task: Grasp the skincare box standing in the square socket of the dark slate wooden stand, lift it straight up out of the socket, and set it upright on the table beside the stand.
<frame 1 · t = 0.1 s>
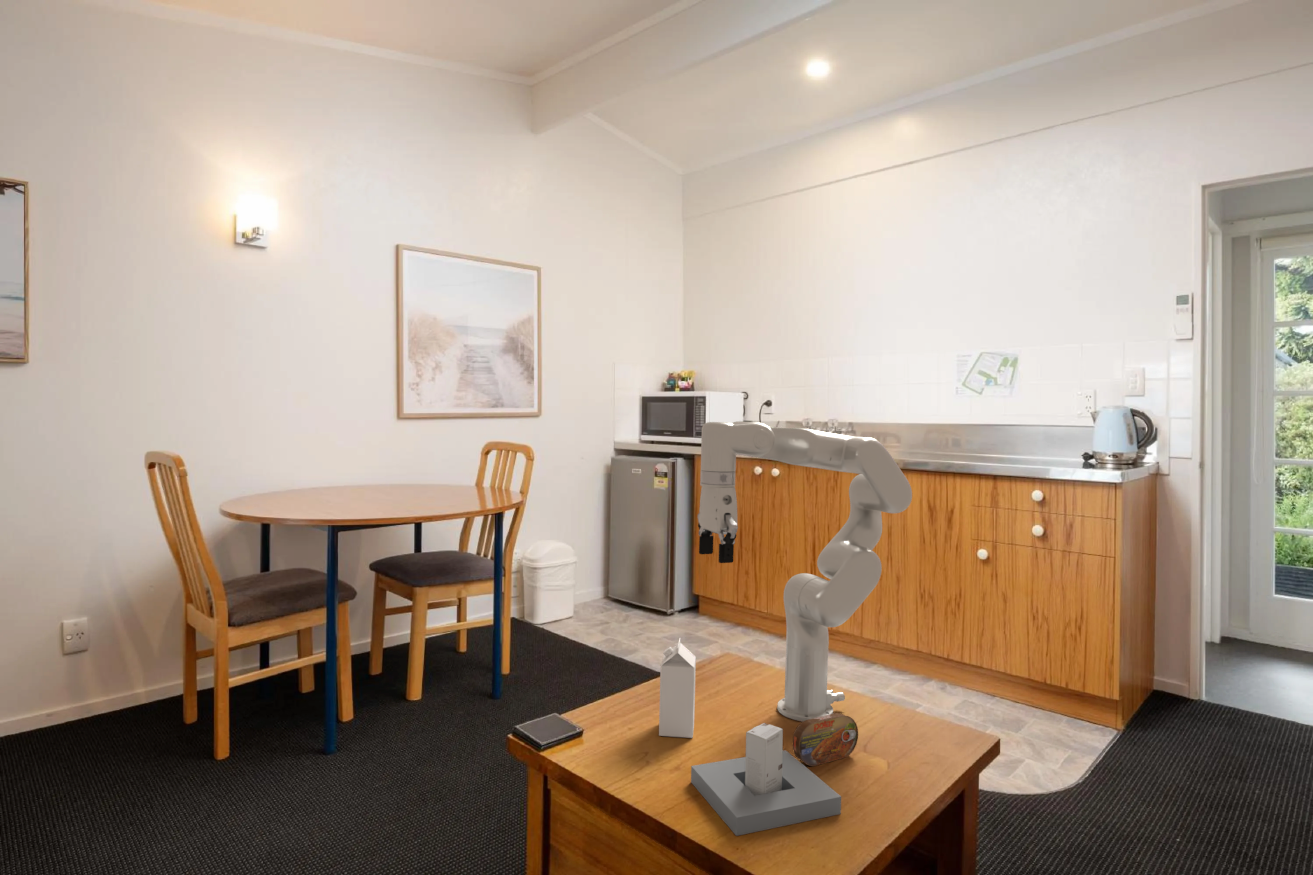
hand: (715, 558, 157), 37 cm above the table, tool pointing down, fingers open, 9 cm apart
skincare box: (763, 798, 128), resting in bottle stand
tin: (824, 759, 144), on the table
milk carton: (676, 731, 155), on the table
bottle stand: (763, 797, 128), on the table
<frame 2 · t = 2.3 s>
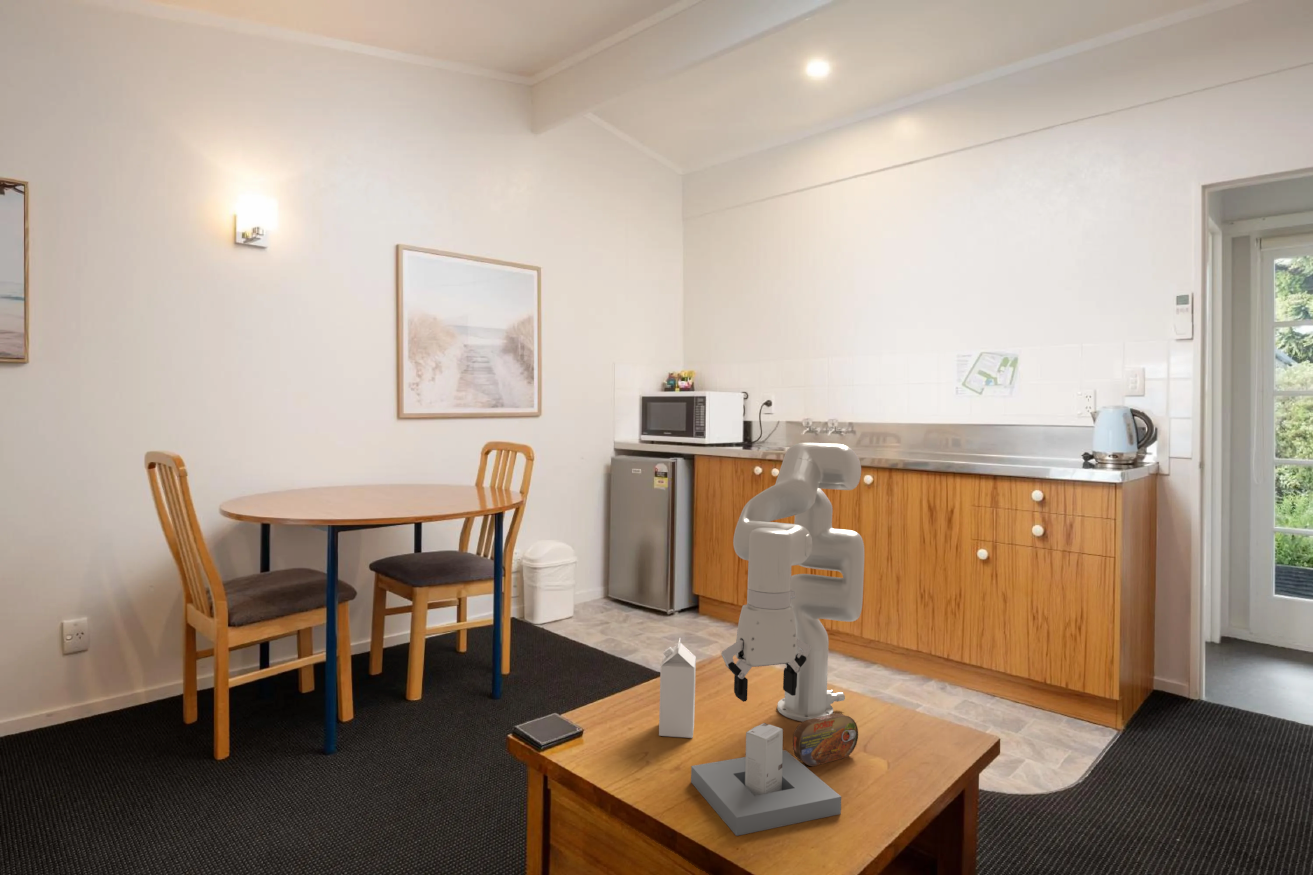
hand: (765, 695, 127), 18 cm above the table, tool pointing down, fingers open, 9 cm apart
nothing on the table moved.
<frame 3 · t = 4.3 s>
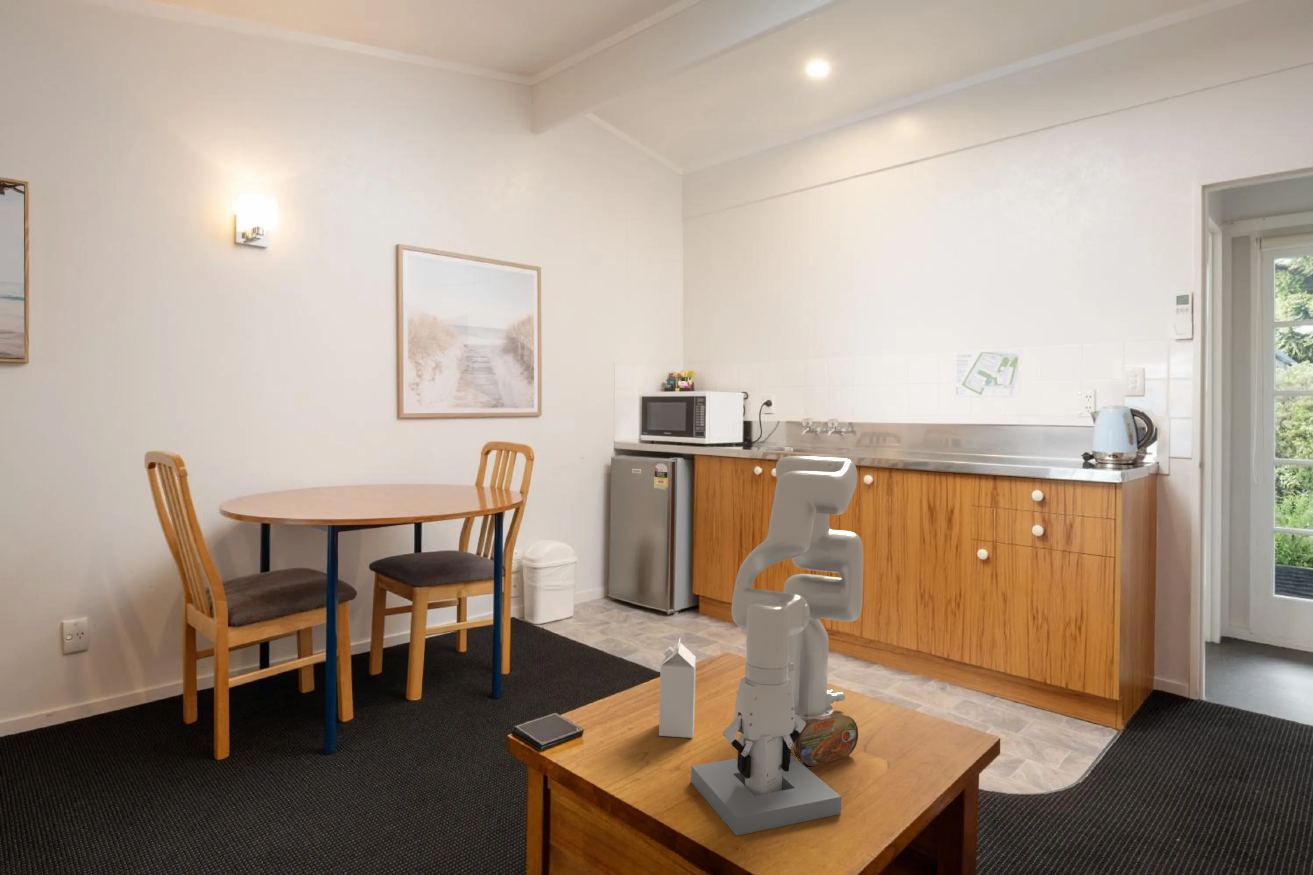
hand: (763, 770, 128), 5 cm above the table, tool pointing down, fingers closed on skincare box, 7 cm apart
skincare box: (763, 798, 128), resting in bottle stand, touching gripper
everything else where it was.
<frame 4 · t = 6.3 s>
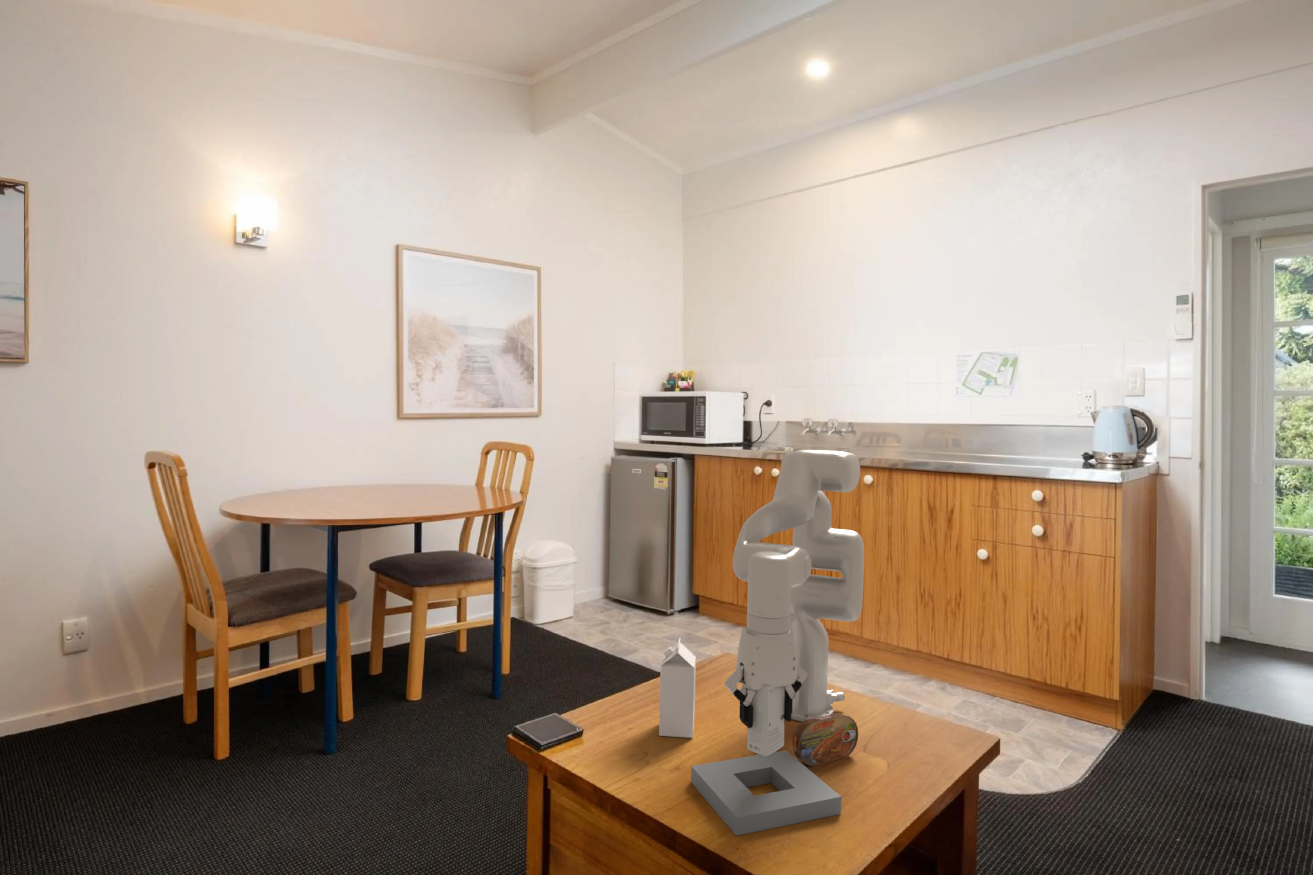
hand: (765, 720, 128), 14 cm above the table, tool pointing down, fingers closed on skincare box, 7 cm apart
skincare box: (765, 748, 129), point 9 cm above the table, touching gripper
everything else where it was.
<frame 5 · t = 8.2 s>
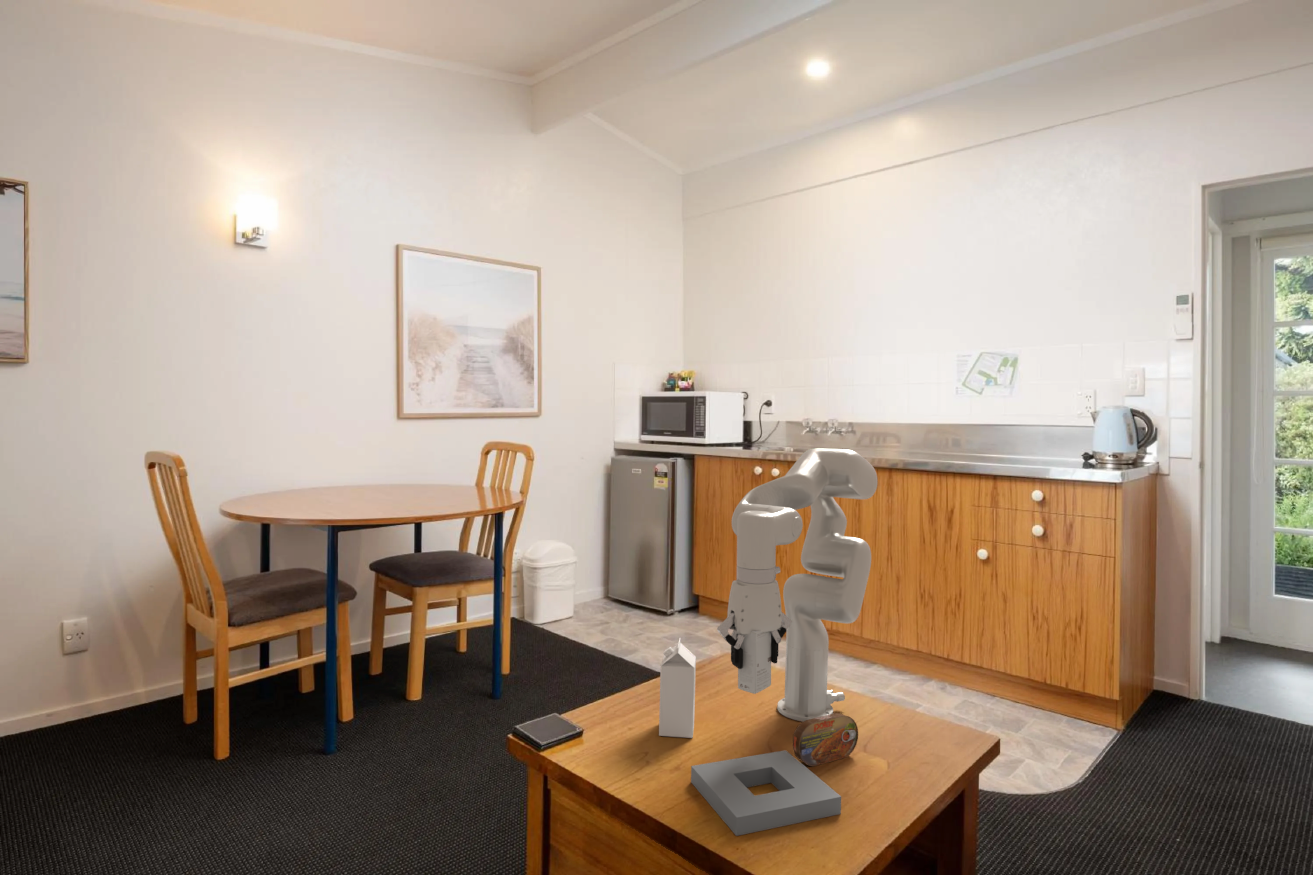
hand: (754, 662, 142), 19 cm above the table, tool pointing down, fingers closed on skincare box, 7 cm apart
skincare box: (754, 687, 143), point 14 cm above the table, touching gripper
everything else where it was.
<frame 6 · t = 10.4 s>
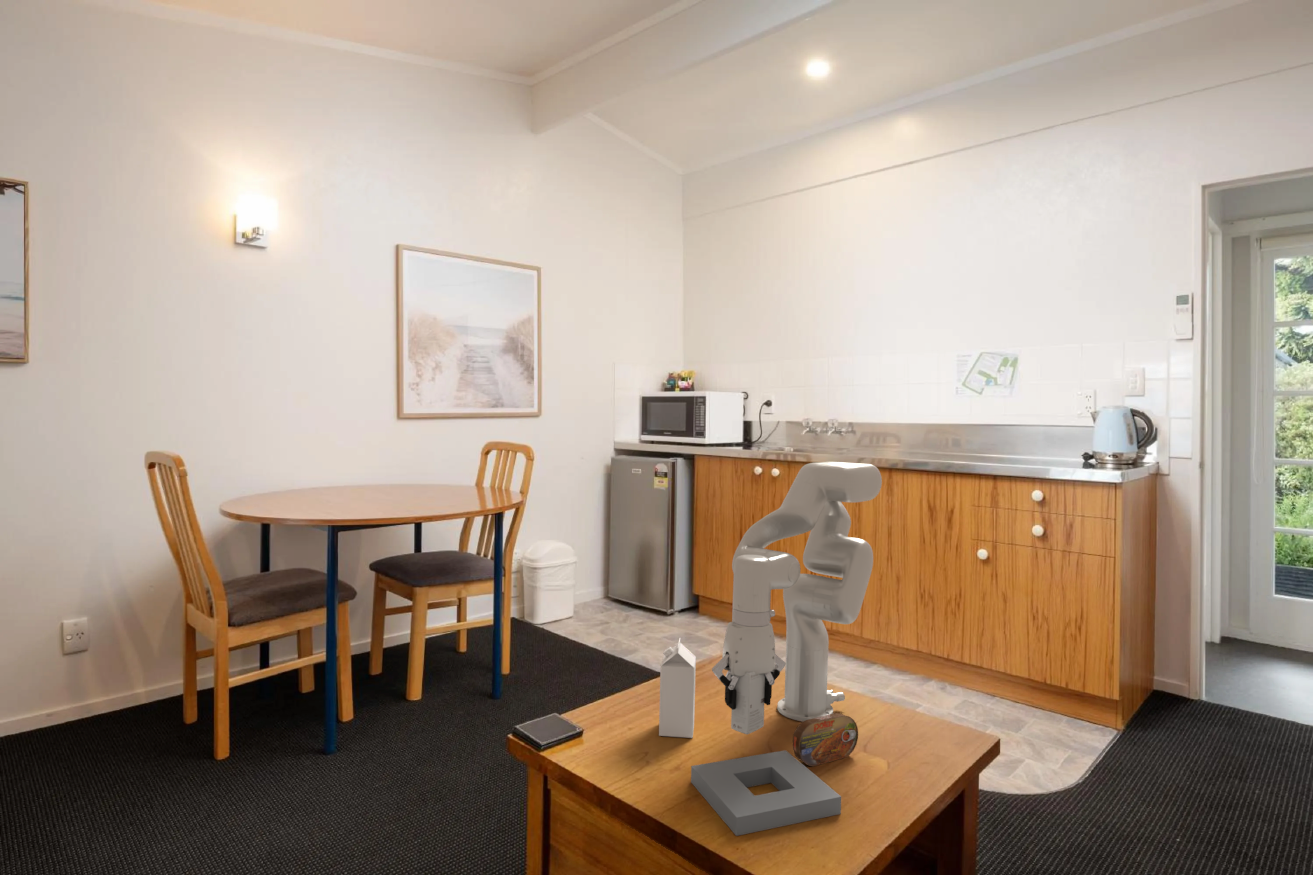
hand: (748, 703, 146), 10 cm above the table, tool pointing down, fingers closed on skincare box, 7 cm apart
skincare box: (747, 728, 146), point 5 cm above the table, touching gripper
everything else where it was.
when the fingers open (6 cm above the table, at t = 12.1 s): skincare box drops 1 cm, on the table.
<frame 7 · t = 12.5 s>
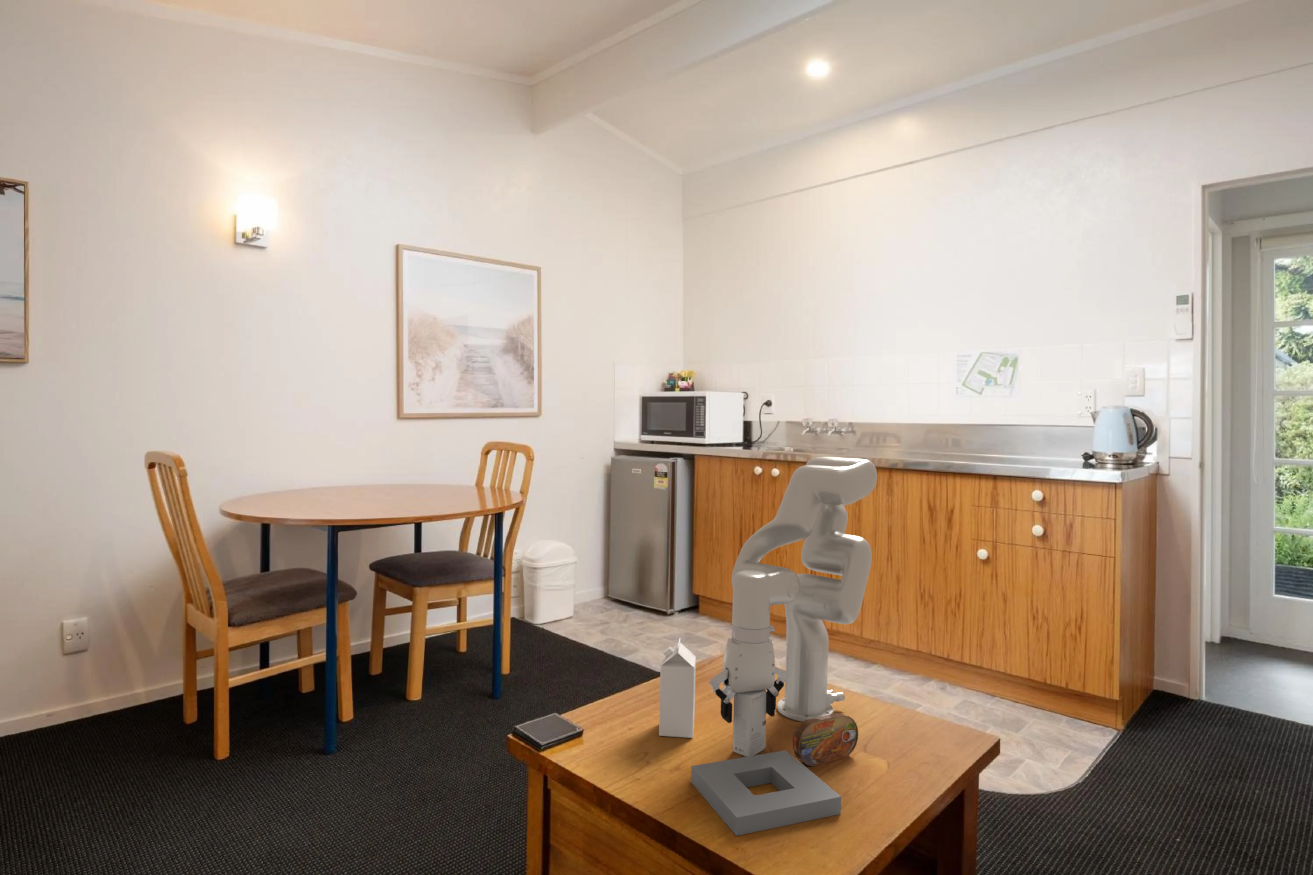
hand: (748, 716, 146), 7 cm above the table, tool pointing down, fingers open, 9 cm apart
skincare box: (748, 750, 147), on the table
everything else where it was.
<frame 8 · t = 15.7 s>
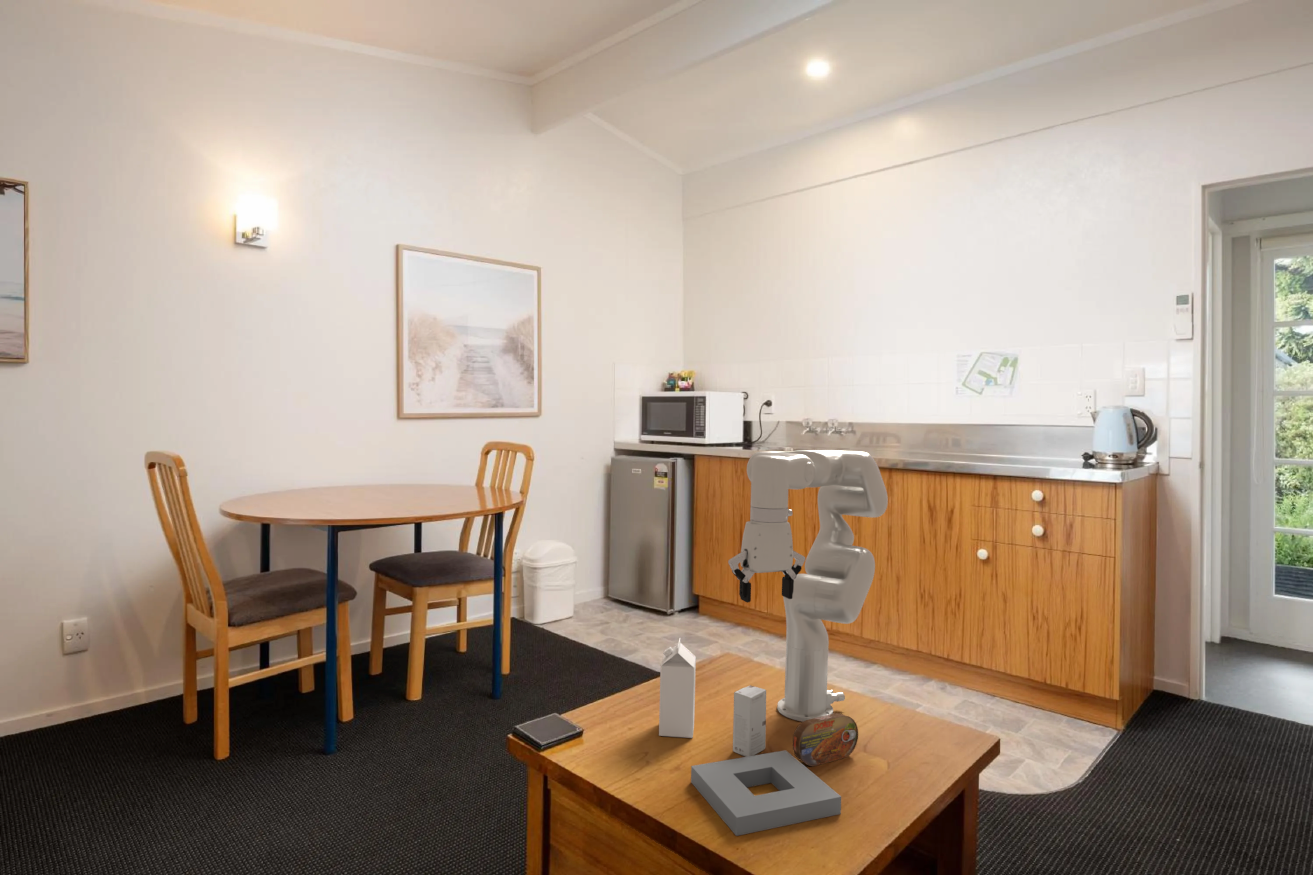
hand: (766, 599, 148), 30 cm above the table, tool pointing down, fingers open, 9 cm apart
nothing on the table moved.
at the end: skincare box inside the target area (0.4 cm from its centre), on the table; skincare box tilted 0°; the gripper is holding nothing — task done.
